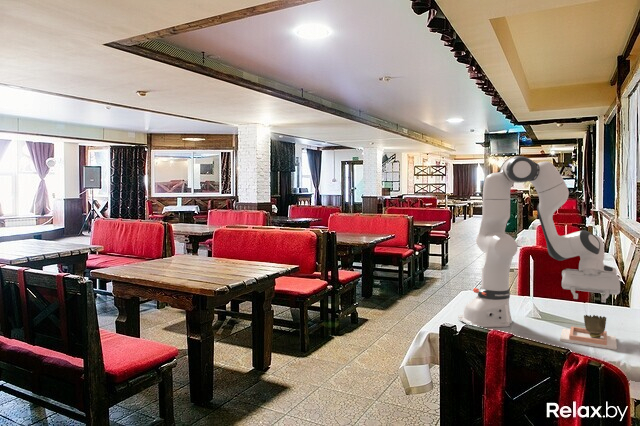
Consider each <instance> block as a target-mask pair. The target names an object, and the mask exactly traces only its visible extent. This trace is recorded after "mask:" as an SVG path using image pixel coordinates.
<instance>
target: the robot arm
mask: <svg viewBox="0 0 640 426" xmlns="http://www.w3.org/2000/svg"><path fill="white" fill-rule="evenodd" d="M528 182H529V183H531V185H532V186H533V187H534V189H535V191H536V193H537V196H538V199H539V200H538V201H539V203H538V204H537V206H536V211H537V216H538V219H539V224H540V226H541V229H542V233H543V235H544V240H545V242H546V249H547V253H548V255H549V256H550V257H551V258H553V259H555V260H556V261H560V262H561V261H564V260H568V259H571V258H575V257H579V258H580V260H579V263H578V269H575V268H565V269H563V270H562V271H561V277H562V279H561V287H562V289H563V290H570V292H571V294H572V296H573V299H574V300H578V299H579V293H576V291H579V292H580V291H581V292H588V293H596V294H597V293H598V294H604V295H601V297H600V298H601V299H600V301H601V303H606V301H607V299H608V298H609V297H610V295H614V296H615V295H616V296H617V295H619V294H620V293H621V281H620V278H619V276H618V275H617V273H618V272H617V269H616V268H615V267H613V266H611V265H607V264H604V259H605V245H604V241H603V240H602V238H601V237H600V236H597V235H595V234H593V233H592V232H590V231H587V230H585V229H584V230H579V231H574V232H571V233H568V234H564V235H559V234H558V232H557V228H556V225H555V222H554V220H553V217H554V214H555V212H556V211H557V210H559V209H560V208H561V207H562V206H563V205H564V204H566V202H567V200H568V199H569V195H570V193H569V188H568V185H567V184H566V181H565V180H564V178H563V177H562V175H561V173H560V172H559V170H558V168H556V167H555V165H554V164H553V163H552V162H551V161H540V162H538V163H537V162H536V161H534V160H532V159H530V158H529V157H527V156H522V155H515V156H511V157H508V158H507V159H506V160H504V162H503V163H502V165H501V166H500V168H499V170H498V171H497V172H493V173H489V174H488V175H487V176H485V179H484V183H483V189H482V205H481V206H482V207H481V208H482V212H481V213H482V214H481V215H482V217H481V223H480V228H479V232H478V234H477V236H476V245H477V247H478V248H479V249H480V251H481V252H483V253H484V254H486V257H485V262H484V265H483V267H482V268H481V286H480V289H479V288H477V287H474V288H472V292H474V293H475V294H477V296H475V297H474V298H473V299H472V300H470V301H469V302H468V303H466V305H465V306H464V309H463V314H462V315H458V318H459V319H460V320H462V321H464V322H465V323H468V324H470V323H472V325H477V326H481V327H480V328H498V327H499V328H500V327H502V328H505V327H507V328H508V327H510V326H511V324H512V323H513V319H512V315H511V308H510V297H511V289H510V271H511V270H510V269H511V265H512V263H513V258H514V256H515V255H516V254H517V252H518V249H519V248H518V247H519V246H518V243H517V241H516V240H515V239H514V238H513V236H511V235H510V234H508V233H506V229H507V223H508V221H509V220H510V218H511V188H512V186H513V185H514V184H516V183H517V184H519V183H528ZM458 318H457V319H458ZM459 319H458V320H459Z"/></svg>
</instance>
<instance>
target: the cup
mask: <svg viewBox="0 0 640 426" xmlns="http://www.w3.org/2000/svg"><path fill="white" fill-rule="evenodd" d="M583 320H584V328H586V330H587V331H588V332H590V334H589V335H590V337H593V338H600V337H601V335H600V334H601V333H603V332H604V331H606V324H607V317H606V316H602V315H600V316H599V315H595V314H593V316H592V314H590V315H588V314H585V315H583Z"/></svg>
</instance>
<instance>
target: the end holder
mask: <svg viewBox="0 0 640 426" xmlns="http://www.w3.org/2000/svg"><path fill="white" fill-rule="evenodd" d="M607 333H608V331H606V330H604V332H603V333H601V334H600V335H601V337H600V338H593V337H590V335H589V334H590V332H588V331H587V330H586V328H585V327H578V326H573V325H572V326H570V328H562V329H561V334H560V337H559V342H565V343H570V344H577V345H584V346H591V347H597V348H602V349H608V350H615V351H616V350H617V348H618V347H617V345H618V344H617V336H616V335H610V334H607Z"/></svg>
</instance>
